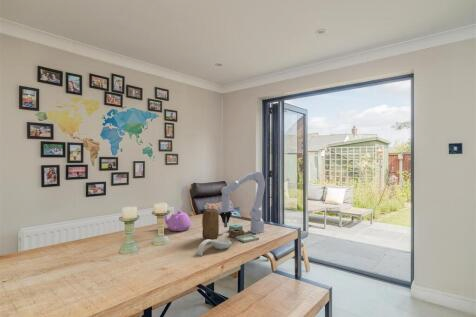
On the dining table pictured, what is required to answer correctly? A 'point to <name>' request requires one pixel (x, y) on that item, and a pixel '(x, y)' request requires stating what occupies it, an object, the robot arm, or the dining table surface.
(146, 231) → the dining table surface
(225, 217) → the pin gauge
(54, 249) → the dining table surface
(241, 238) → the tray
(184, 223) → the teapot
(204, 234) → the block
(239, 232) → the walnut bore block
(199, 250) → the spoon rest
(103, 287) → the dining table surface
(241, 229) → the teal block
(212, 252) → the dining table surface
